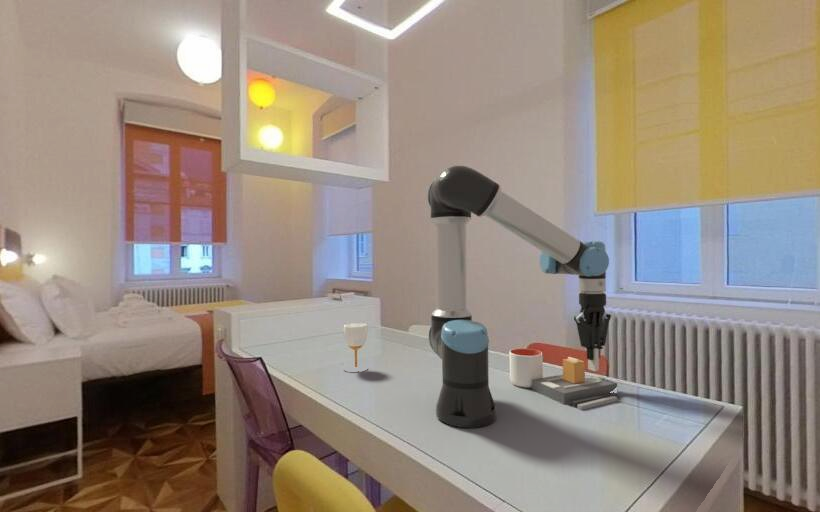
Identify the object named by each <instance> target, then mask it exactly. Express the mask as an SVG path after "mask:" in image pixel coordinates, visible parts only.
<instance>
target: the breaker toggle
mask: <svg viewBox="0 0 820 512" xmlns="http://www.w3.org/2000/svg"><path fill="white" fill-rule="evenodd" d="M585 367H586V366H585V361H584V360H581V359H578V358H574V357H571V356H568V357H567V358H563V359H562V375H563V380H566V381H568V382H571V383H574V384H576V383H581V382H585V372H586V371H585Z"/></svg>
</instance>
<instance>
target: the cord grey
mask: <svg viewBox="0 0 820 512" xmlns="http://www.w3.org/2000/svg"><path fill="white" fill-rule="evenodd" d="M615 402H618V398H617V397H615V396H611V397H606V398H602V399H598V400H594V401H590V402H586V403H582V404H578V405H577V407H576V408H577V409H578V410H579V411H583V410H586V409H591V408H594V407H598V406H602V405H607V404H611V403H615Z"/></svg>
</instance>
